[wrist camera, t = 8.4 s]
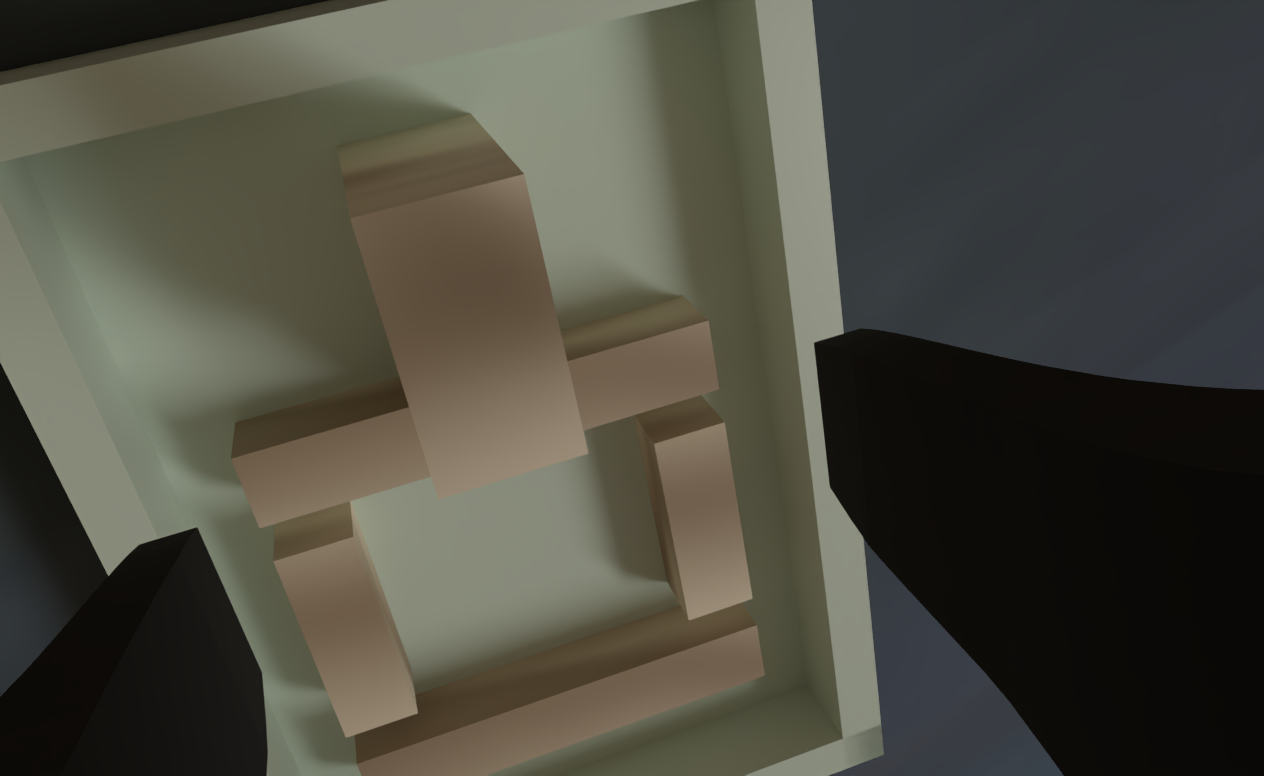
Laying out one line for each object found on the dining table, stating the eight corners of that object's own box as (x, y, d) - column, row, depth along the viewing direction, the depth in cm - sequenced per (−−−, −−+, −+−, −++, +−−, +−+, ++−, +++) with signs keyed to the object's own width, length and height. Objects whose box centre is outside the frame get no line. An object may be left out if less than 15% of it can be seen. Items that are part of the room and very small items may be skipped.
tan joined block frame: (740, 636, 25) (833, 786, 21) (372, 764, 24) (389, 955, 19) (645, 71, 19) (747, 116, 15) (142, 193, 18) (92, 283, 13)
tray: (837, 688, 28) (883, 754, 25) (307, 880, 25) (309, 973, 23) (744, -90, 19) (803, -91, 17) (-71, 87, 17) (-126, 113, 14)
